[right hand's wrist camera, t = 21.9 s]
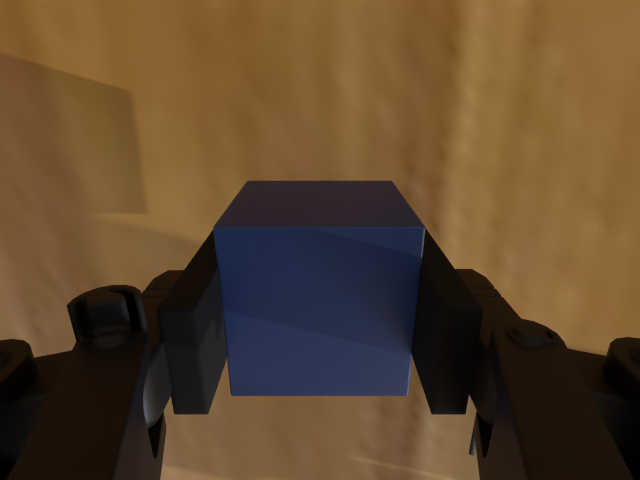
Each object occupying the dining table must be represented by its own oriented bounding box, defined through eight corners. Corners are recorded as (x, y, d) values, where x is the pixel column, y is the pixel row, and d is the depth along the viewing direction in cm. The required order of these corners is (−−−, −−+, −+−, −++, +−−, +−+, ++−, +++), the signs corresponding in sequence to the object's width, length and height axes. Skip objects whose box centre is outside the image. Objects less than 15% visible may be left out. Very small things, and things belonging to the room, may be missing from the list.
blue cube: (383, 308, 16) (408, 396, 11) (255, 308, 16) (230, 397, 11) (392, 180, 14) (426, 226, 9) (246, 180, 14) (212, 226, 9)
